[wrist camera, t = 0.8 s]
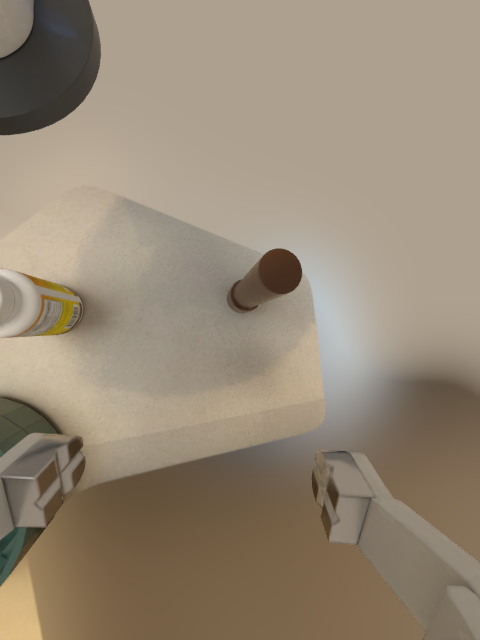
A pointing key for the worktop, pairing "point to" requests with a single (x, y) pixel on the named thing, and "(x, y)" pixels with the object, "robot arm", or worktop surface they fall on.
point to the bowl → (3, 434)
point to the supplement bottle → (36, 306)
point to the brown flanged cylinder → (266, 281)
